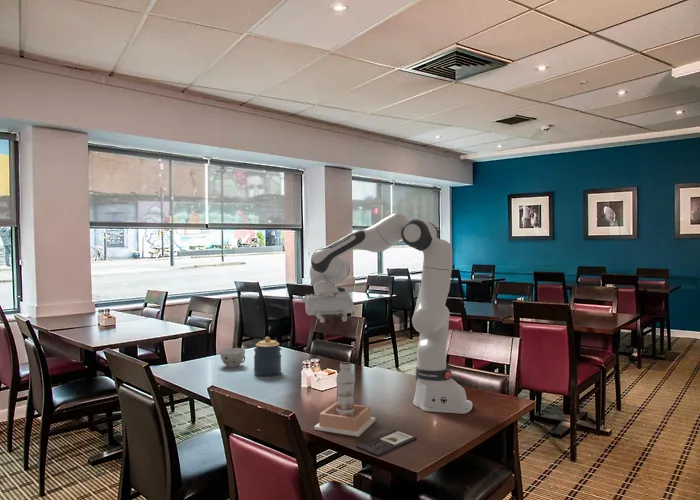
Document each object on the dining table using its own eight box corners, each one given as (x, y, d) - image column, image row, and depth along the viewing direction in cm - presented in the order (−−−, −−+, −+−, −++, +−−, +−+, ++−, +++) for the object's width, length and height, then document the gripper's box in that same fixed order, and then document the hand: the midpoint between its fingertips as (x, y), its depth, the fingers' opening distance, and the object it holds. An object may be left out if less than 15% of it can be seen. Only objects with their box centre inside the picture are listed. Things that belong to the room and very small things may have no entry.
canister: (286, 373, 234) (286, 336, 234) (263, 378, 226) (263, 340, 225) (271, 368, 244) (271, 333, 244) (248, 373, 235) (248, 336, 235)
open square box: (375, 420, 172) (375, 406, 172) (358, 436, 157) (358, 421, 157) (334, 414, 178) (334, 400, 178) (314, 429, 164) (314, 414, 164)
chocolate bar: (356, 445, 149) (395, 430, 162) (356, 448, 149) (395, 433, 162) (378, 454, 143) (416, 437, 155) (378, 458, 143) (416, 440, 155)
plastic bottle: (343, 416, 173) (343, 360, 172) (358, 421, 168) (358, 363, 168) (331, 422, 168) (331, 363, 167) (347, 426, 163) (346, 366, 163)
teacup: (214, 367, 247) (214, 351, 247) (233, 362, 258) (233, 346, 258) (235, 371, 239) (235, 354, 239) (253, 366, 249) (253, 350, 249)
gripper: (303, 290, 199) (310, 317, 190) (350, 288, 206) (359, 314, 198) (300, 300, 203) (307, 327, 194) (346, 298, 211) (355, 324, 202)
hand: (334, 321), depth 196 cm, fingers open, 8 cm apart
